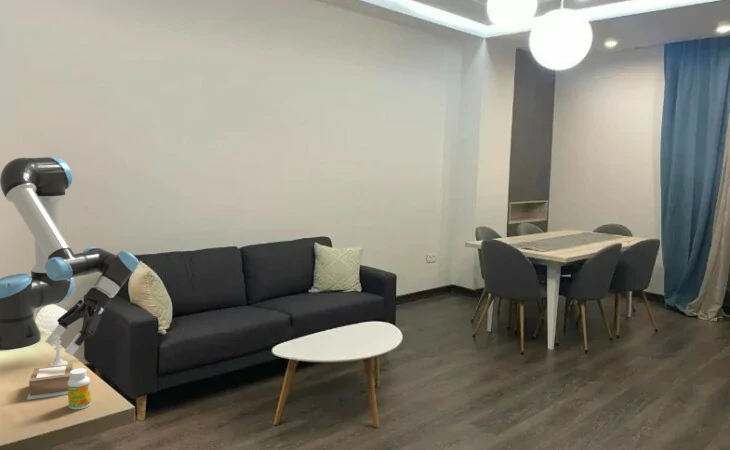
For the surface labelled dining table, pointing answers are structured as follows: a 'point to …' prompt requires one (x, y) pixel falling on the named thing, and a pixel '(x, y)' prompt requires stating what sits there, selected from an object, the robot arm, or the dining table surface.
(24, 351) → the dining table surface
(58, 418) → the dining table surface
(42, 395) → the pale blue board
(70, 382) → the supplement bottle
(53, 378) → the walnut plinth
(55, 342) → the chess piece
